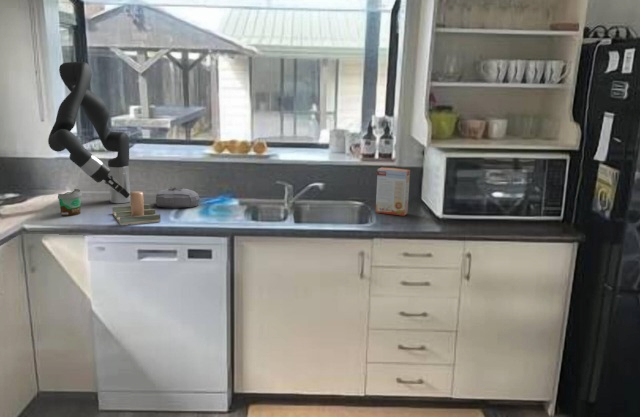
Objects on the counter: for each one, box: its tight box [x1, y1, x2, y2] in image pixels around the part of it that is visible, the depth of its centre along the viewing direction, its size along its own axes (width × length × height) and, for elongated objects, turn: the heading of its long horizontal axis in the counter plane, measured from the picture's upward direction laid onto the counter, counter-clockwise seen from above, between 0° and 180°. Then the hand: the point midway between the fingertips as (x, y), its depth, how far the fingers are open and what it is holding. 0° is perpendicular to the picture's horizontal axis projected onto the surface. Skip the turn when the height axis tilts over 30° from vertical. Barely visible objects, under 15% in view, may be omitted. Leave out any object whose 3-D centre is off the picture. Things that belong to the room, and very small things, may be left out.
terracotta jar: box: [130, 190, 145, 217], centre depth 239 cm, size 5×5×11 cm
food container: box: [57, 188, 83, 217], centre depth 246 cm, size 12×6×10 cm, turn 168°
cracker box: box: [375, 167, 411, 217], centre depth 262 cm, size 14×6×21 cm, turn 65°
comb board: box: [111, 203, 161, 226], centre depth 244 cm, size 21×16×3 cm
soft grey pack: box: [155, 187, 200, 209], centre depth 268 cm, size 15×8×20 cm
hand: (126, 194), depth 235 cm, fingers open, 8 cm apart
